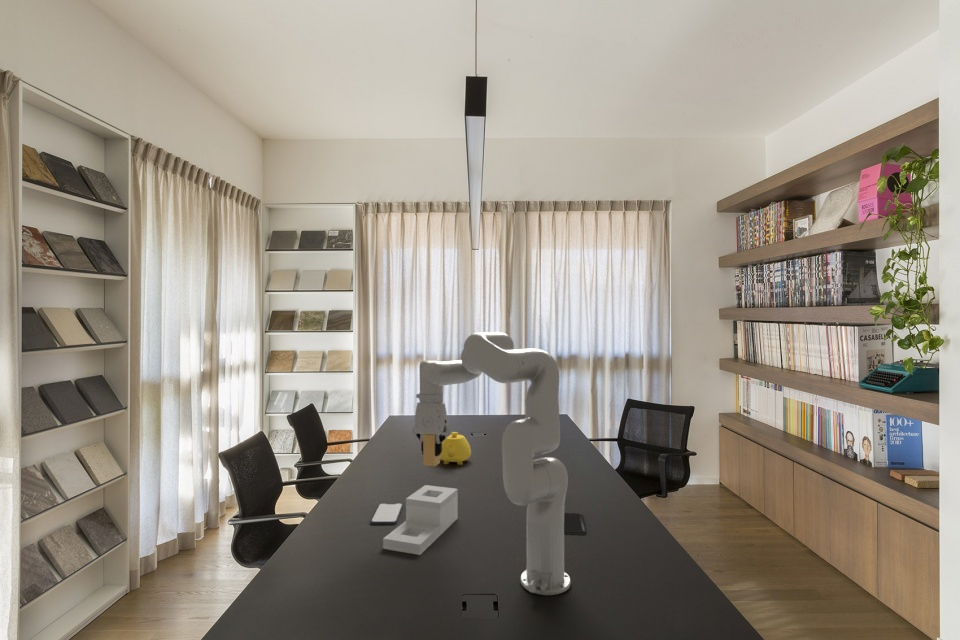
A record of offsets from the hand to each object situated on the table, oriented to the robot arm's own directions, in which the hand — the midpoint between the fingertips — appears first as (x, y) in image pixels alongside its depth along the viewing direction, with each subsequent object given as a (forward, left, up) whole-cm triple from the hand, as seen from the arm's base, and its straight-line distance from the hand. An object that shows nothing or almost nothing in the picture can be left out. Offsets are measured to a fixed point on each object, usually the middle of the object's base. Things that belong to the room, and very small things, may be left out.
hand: (431, 453), depth 167 cm
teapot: (+68, +21, -23) cm, 75 cm away
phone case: (+2, +18, -24) cm, 30 cm away
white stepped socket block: (-6, 0, -23) cm, 24 cm away
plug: (0, 0, -3) cm, 3 cm away
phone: (+16, -43, -24) cm, 51 cm away
